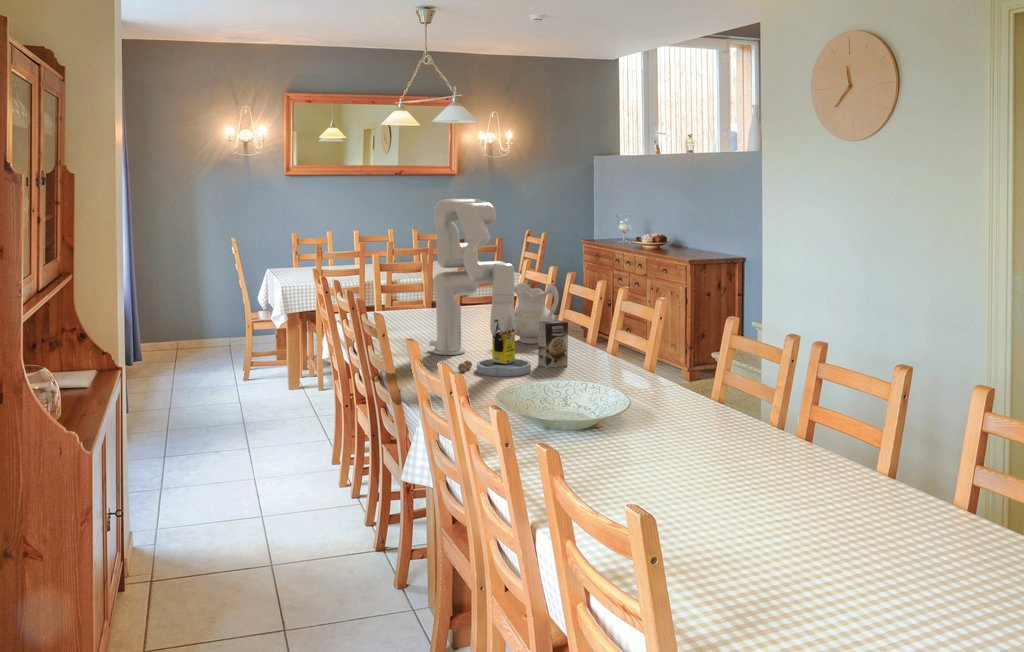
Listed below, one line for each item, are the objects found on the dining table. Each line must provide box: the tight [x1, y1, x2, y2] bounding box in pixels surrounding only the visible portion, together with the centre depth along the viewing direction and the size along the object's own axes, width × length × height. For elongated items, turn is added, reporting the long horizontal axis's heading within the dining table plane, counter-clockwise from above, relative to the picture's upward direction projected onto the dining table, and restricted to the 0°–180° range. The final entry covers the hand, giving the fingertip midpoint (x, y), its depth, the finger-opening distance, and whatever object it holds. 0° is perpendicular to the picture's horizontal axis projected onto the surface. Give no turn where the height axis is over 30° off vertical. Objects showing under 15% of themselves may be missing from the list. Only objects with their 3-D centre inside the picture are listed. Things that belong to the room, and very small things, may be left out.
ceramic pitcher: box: [513, 282, 560, 345], centre depth 377 cm, size 22×20×25 cm
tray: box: [476, 358, 532, 378], centre depth 319 cm, size 19×19×3 cm
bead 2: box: [463, 359, 473, 370], centre depth 323 cm, size 3×3×3 cm
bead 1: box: [457, 362, 468, 373], centre depth 318 cm, size 3×3×3 cm
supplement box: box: [491, 331, 516, 366], centre depth 318 cm, size 6×6×11 cm
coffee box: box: [537, 319, 569, 369], centre depth 328 cm, size 9×6×16 cm
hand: (503, 349), depth 318 cm, fingers closed on supplement box, 6 cm apart
